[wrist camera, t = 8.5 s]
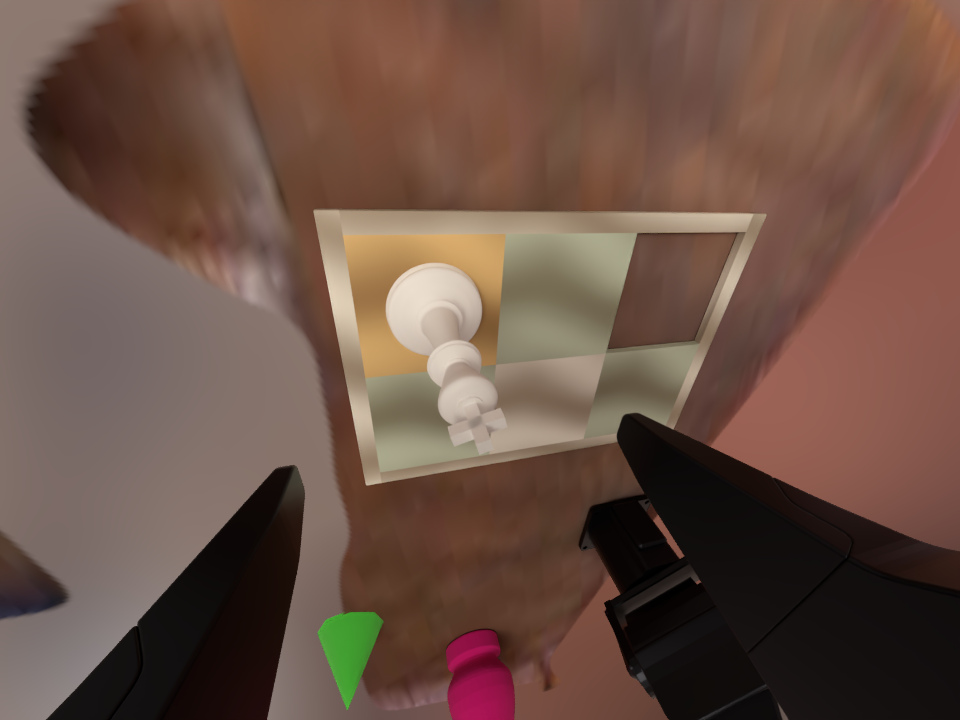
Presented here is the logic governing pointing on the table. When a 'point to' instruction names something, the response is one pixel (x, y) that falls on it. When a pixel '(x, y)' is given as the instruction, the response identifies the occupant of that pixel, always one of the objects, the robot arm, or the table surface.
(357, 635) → the gemstone
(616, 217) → the game board
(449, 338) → the chess piece
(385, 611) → the table surface
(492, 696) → the pepper mill
